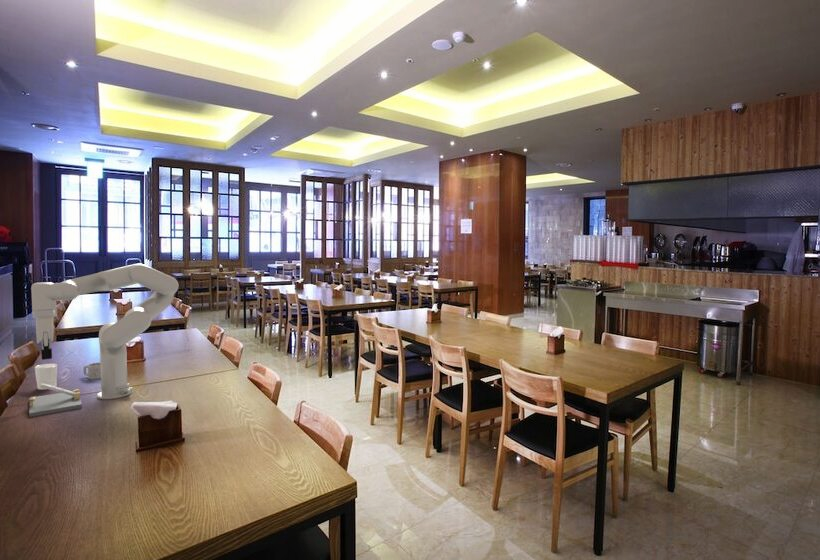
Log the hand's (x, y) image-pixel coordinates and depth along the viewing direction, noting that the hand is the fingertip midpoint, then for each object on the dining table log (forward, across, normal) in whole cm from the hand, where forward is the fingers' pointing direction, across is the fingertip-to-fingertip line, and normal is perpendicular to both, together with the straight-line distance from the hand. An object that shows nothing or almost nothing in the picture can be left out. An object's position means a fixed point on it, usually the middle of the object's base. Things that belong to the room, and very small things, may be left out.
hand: (46, 358), depth 180 cm
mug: (+19, -36, +17) cm, 44 cm away
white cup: (+19, -29, -1) cm, 35 cm away
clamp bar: (+14, 0, +3) cm, 15 cm away
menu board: (+19, 0, +3) cm, 19 cm away
